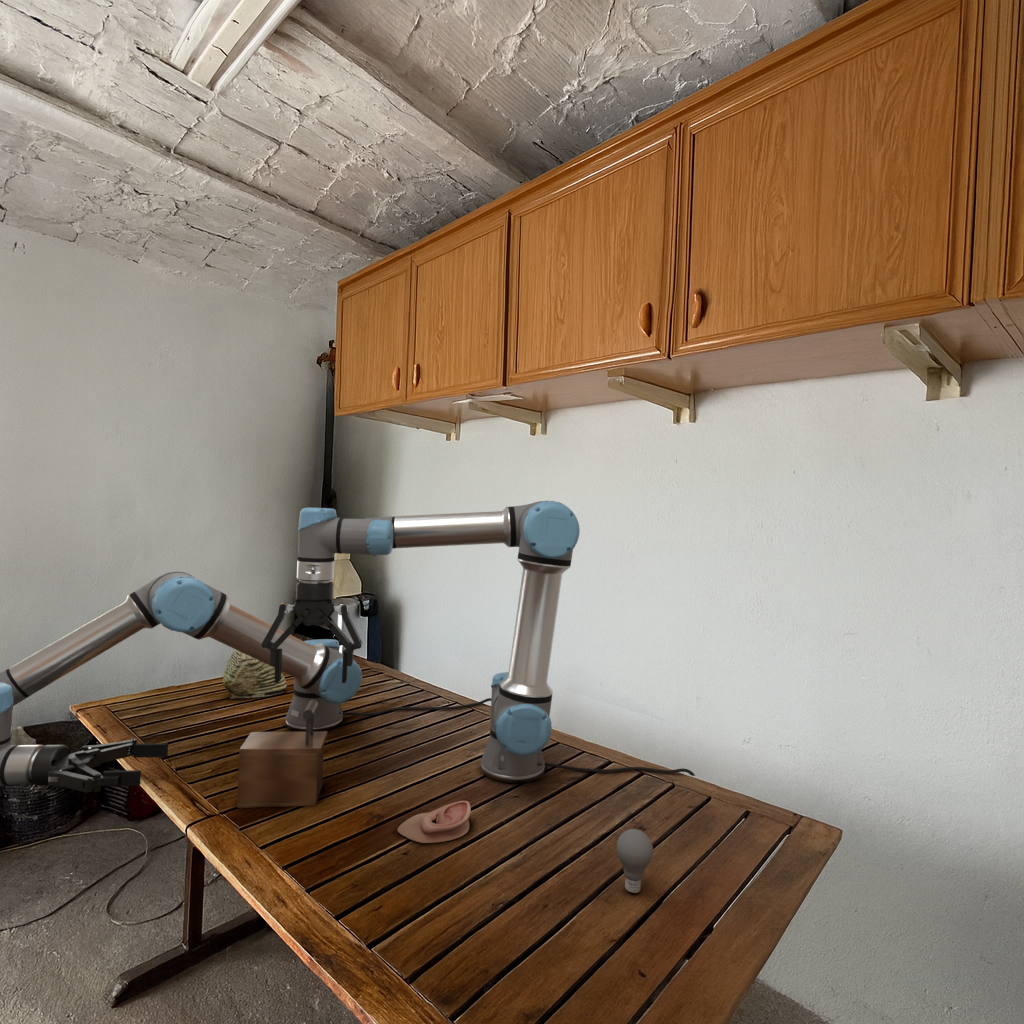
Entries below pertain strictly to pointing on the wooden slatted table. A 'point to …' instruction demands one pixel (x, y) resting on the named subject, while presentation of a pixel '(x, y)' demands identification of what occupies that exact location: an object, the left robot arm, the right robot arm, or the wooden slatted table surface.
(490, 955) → the wooden slatted table surface
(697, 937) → the wooden slatted table surface
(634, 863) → the light bulb
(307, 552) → the right robot arm
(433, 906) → the wooden slatted table surface
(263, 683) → the fossil
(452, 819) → the anatomical model
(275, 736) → the lid
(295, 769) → the chest
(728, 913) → the wooden slatted table surface
